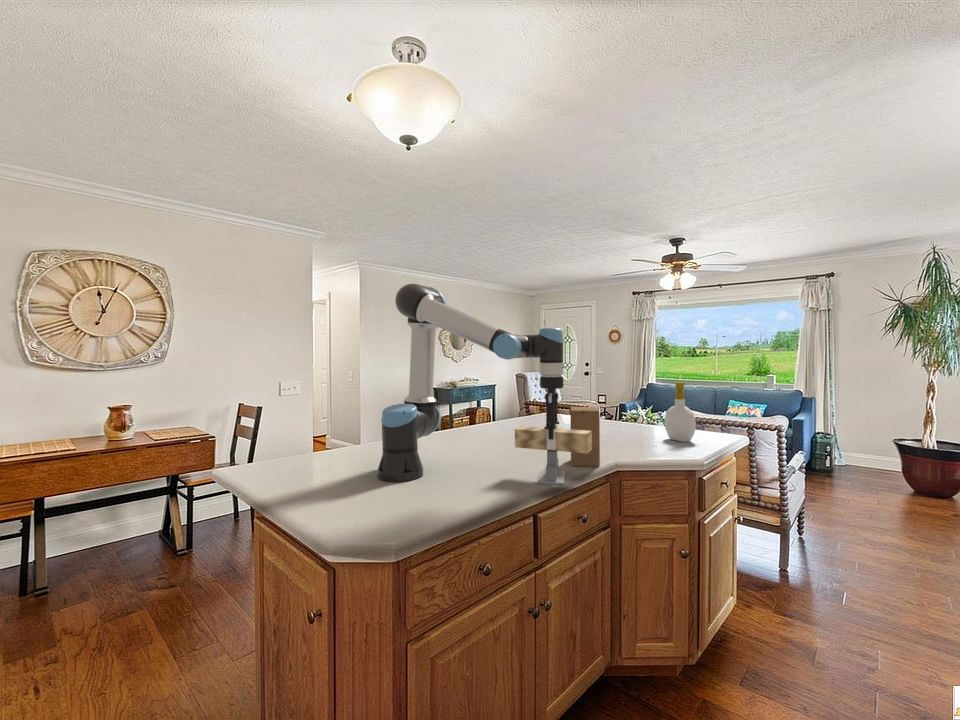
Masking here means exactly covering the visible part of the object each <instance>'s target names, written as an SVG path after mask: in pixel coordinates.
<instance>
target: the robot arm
mask: <svg viewBox="0 0 960 720" xmlns="http://www.w3.org/2000/svg"><path fill="white" fill-rule="evenodd" d="M394 299H395V301H394V302H395V306H396V308H397V311H398V312H399V313H400V314H401V315H403V316H404V317H407V325H408V326H409V327H410V328H411V333H410V334H411V335H410V336H411V337H410V357H409V358H410V359H409V360H410V361H409V379H408V380H409V384H408V395H407V396H406V397H405V398H404V400H403V402H404V403H397V404H393V405H389V406H386V407H385V408H384V409H383V410H382V413H381V415H382V416H381V432H382V433H381V434H382V435H381V436H382V437H381V439H382V441H381V443H382V455H381V458H380V462H379V464H378V467H377V478H378V479H379V480H381V481H386V482H406V481H407V482H408V481H412V480H416V479H419V478H422V476H424V466H423V463H422V461H421V458H420V455H419V452H418V448H419V447H418V445H419V444H418V441H419V440H418V439H420V438H422V437H427V436H429V435H431V434H432V433H433V432H435V431H436V430H437V429H438V427H439V425H440V424H441V419H442V417H441V416H442V415H441V412H440V409H439V408H438V406H437V399H436V398H435V397H434V395H433V394H434V372H435V371H434V370H435V350H436V331H437V329H438V328H440V329H442V330H444V331H447V332H449V333H451V334H453V335H455V336H457V337H460V338H462V339H464V340H466V341H468V342H471V343H473V344H475V345H476V346H477V345H478V346H479V347H481V348H484V349H485V350H488V351H490V352H491V353H494V354H495V355H496V356H497V357H498V358H500V359H503V360H512V359H513V360H514V359H525V358H527V359H528V358H535V359H536V358H539V375H540V377H539V387H540V389H547V392H546V393H545V394H544V395H545V396H544V399H545V407H546V408H545V410H546V411H545V412H546V413H545V422H546V423H545V426H544V427H543V428H544V429H547V449H552V450H556V429H558V425H560V421H558V420H559V419H558V404H559V402H558V401H559V393H558V392H557V390H558V389H563V388H564V377H563V375H564V369H566V366H565V365H564V336H563V330H562V329H561V328H559V327H545V328H540V329H539V332H538V333H537V334H514V333H511V332H510V331H506V330H505V329H503V328H502V329H501V328H499V327H497V326H494V325H493V324H491V323H488V322H486V321H484V320H481V319H479V318H477V317H474V316H472V315H470V314H468V313H466V312H463V311H461V310H458V309H457V308H454V307H452V306H449V305H448V304H447V302H446V299H445V296H444V295H443V293H441V291H439V290H437V289H436V288H434V287H432V286H426V285H421V284H418V283H408V284H405V285H403V286H401V288H399V290H398V291H397V292H396V295H395V298H394ZM555 428H556V429H555Z"/></svg>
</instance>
